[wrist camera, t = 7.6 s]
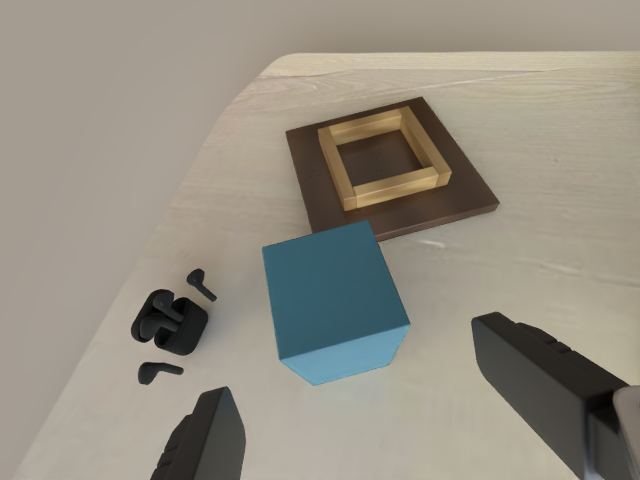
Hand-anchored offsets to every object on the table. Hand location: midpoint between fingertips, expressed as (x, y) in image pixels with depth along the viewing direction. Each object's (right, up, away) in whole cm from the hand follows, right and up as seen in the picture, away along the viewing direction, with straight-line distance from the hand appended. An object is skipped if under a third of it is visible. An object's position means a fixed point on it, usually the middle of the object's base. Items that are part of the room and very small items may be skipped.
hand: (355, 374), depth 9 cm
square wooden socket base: (+4, +10, +17) cm, 20 cm away
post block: (0, -2, +10) cm, 10 cm away
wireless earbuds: (-10, -2, +11) cm, 15 cm away
